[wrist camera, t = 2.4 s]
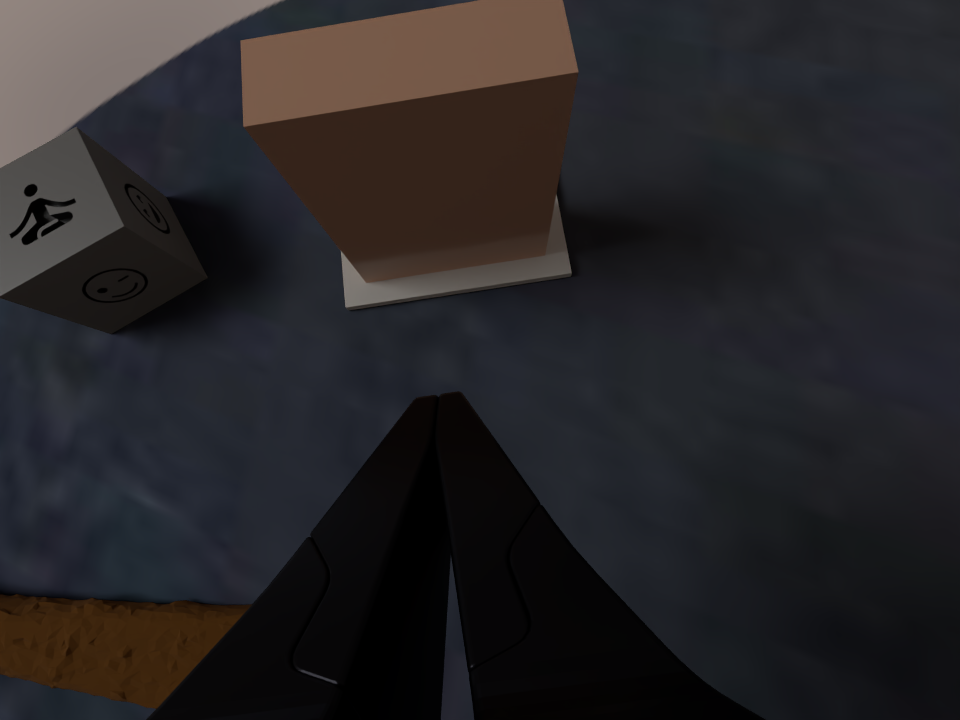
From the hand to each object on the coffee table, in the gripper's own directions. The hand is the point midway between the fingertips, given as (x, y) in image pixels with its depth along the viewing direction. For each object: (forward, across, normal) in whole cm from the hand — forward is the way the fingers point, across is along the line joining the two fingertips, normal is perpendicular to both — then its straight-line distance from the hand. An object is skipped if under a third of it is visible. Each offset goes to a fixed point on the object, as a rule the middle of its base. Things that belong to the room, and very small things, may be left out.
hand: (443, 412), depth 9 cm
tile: (+14, 0, +2) cm, 14 cm away
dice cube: (+16, +15, +1) cm, 21 cm away
